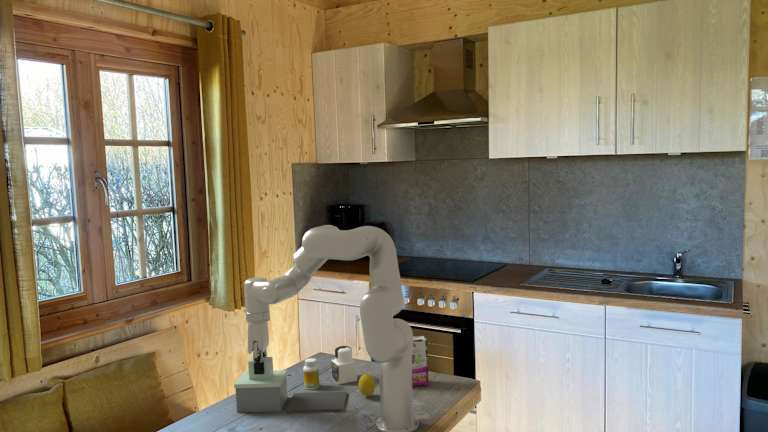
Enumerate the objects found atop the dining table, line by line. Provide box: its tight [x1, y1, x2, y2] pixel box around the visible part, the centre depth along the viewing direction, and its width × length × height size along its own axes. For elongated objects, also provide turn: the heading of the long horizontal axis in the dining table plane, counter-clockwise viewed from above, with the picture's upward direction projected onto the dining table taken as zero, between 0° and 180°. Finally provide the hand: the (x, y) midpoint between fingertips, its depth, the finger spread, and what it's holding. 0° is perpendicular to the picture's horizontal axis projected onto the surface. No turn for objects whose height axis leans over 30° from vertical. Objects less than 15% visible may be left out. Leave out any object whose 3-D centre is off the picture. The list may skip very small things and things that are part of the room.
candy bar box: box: [412, 335, 429, 388], centre depth 200 cm, size 11×5×16 cm, turn 97°
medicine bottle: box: [331, 345, 358, 386], centre depth 207 cm, size 7×7×12 cm
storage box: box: [235, 376, 288, 413], centre depth 188 cm, size 14×11×8 cm
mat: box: [285, 391, 348, 414], centre depth 188 cm, size 18×14×1 cm
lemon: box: [358, 373, 376, 398], centre depth 191 cm, size 6×6×8 cm
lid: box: [233, 356, 288, 389], centre depth 187 cm, size 15×12×8 cm
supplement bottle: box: [302, 357, 320, 390], centre depth 202 cm, size 5×5×10 cm
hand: (261, 370), depth 187 cm, fingers closed on lid, 4 cm apart
